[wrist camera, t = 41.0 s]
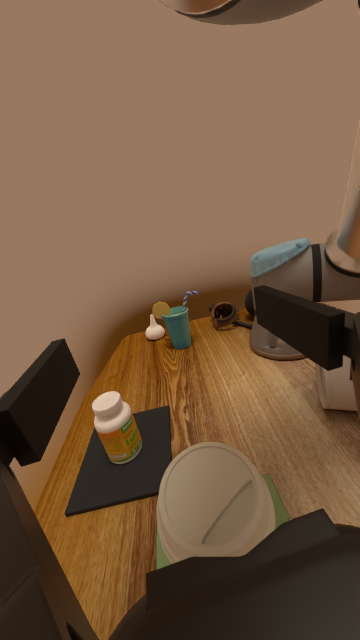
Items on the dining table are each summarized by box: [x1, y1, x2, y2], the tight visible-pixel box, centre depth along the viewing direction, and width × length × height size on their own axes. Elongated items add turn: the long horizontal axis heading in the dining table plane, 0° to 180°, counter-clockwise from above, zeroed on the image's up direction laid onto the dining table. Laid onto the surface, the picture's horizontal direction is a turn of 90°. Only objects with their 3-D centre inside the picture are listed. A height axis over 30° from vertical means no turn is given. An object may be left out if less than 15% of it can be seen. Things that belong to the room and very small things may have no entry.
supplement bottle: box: [92, 391, 142, 464], centre depth 33 cm, size 5×5×10 cm
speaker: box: [245, 290, 255, 317], centre depth 69 cm, size 10×10×10 cm
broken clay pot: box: [209, 302, 239, 329], centre depth 72 cm, size 12×10×8 cm
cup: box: [152, 291, 199, 349], centre depth 63 cm, size 14×8×15 cm, turn 102°
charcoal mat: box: [65, 406, 172, 517], centre depth 35 cm, size 15×14×1 cm
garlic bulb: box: [146, 314, 165, 340], centre depth 73 cm, size 6×6×8 cm
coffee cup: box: [157, 442, 275, 564], centre depth 18 cm, size 9×9×12 cm
